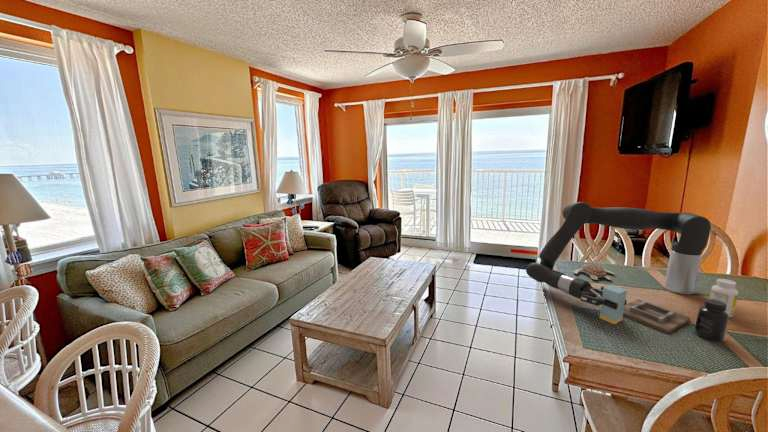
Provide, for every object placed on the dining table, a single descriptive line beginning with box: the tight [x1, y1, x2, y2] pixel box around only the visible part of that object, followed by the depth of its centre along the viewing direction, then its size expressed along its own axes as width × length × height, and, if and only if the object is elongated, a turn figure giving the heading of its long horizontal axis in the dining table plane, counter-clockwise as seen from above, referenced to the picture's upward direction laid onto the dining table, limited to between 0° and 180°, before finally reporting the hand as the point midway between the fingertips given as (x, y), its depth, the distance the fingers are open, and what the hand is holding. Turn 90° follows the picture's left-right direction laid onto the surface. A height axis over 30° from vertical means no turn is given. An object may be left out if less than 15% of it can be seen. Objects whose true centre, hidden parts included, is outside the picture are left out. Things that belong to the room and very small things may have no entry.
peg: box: [598, 284, 628, 325], centre depth 110 cm, size 5×5×12 cm
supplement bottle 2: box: [693, 298, 730, 342], centre depth 99 cm, size 7×7×12 cm
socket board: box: [623, 298, 692, 335], centre depth 112 cm, size 16×16×3 cm
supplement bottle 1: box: [708, 278, 739, 318], centre depth 112 cm, size 7×7×13 cm
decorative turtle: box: [572, 263, 615, 281], centre depth 149 cm, size 18×17×5 cm
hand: (621, 304), depth 108 cm, fingers closed on peg, 5 cm apart
